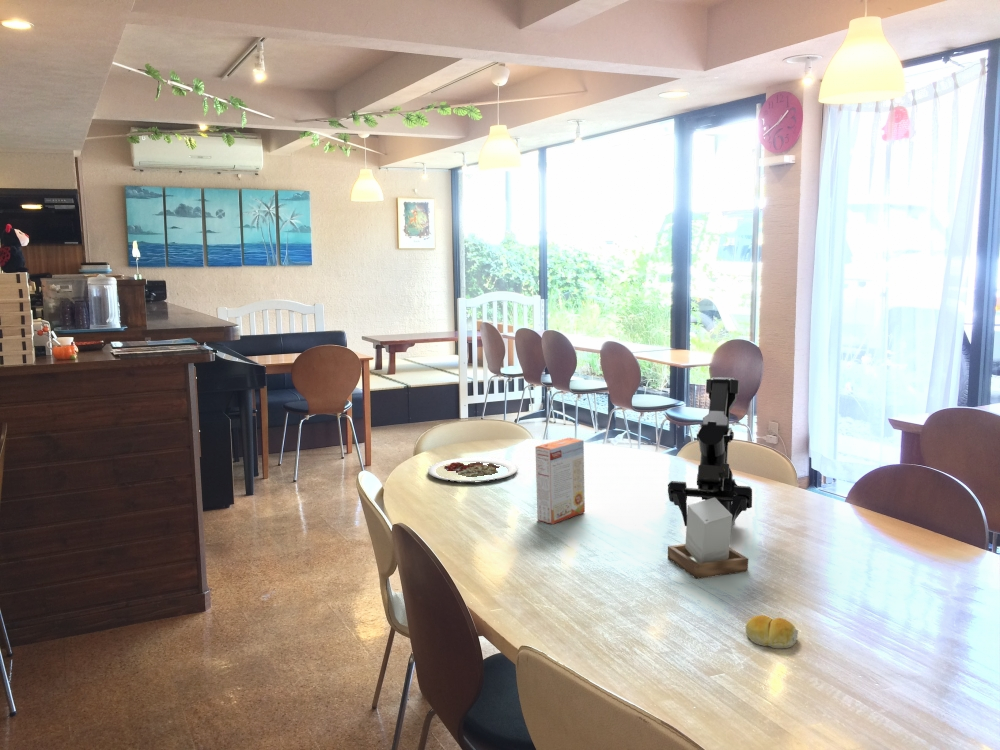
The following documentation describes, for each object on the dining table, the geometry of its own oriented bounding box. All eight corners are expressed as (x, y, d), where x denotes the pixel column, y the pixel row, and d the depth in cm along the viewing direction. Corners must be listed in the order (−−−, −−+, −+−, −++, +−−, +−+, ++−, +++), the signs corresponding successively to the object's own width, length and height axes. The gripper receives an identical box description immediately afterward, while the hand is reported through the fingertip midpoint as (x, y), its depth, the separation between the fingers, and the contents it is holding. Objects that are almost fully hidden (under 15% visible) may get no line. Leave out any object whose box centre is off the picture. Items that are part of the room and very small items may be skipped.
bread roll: (751, 625, 154) (752, 605, 153) (800, 636, 149) (801, 615, 149) (739, 642, 147) (739, 621, 147) (789, 654, 142) (790, 633, 142)
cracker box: (569, 508, 227) (568, 436, 224) (585, 513, 223) (585, 439, 220) (535, 520, 218) (534, 445, 215) (552, 525, 213) (551, 448, 210)
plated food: (518, 485, 253) (518, 475, 252) (423, 487, 253) (423, 476, 253) (517, 461, 282) (517, 452, 282) (432, 463, 283) (432, 453, 282)
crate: (716, 551, 192) (716, 539, 191) (747, 571, 180) (748, 558, 179) (667, 558, 188) (667, 546, 188) (696, 578, 176) (696, 565, 176)
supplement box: (729, 559, 182) (734, 515, 176) (700, 567, 180) (704, 524, 174) (712, 539, 188) (715, 496, 182) (684, 547, 186) (686, 504, 180)
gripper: (669, 447, 187) (662, 506, 178) (753, 452, 181) (749, 513, 172) (673, 472, 195) (666, 529, 186) (753, 477, 189) (750, 537, 180)
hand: (707, 527), depth 181 cm, fingers closed on supplement box, 9 cm apart
